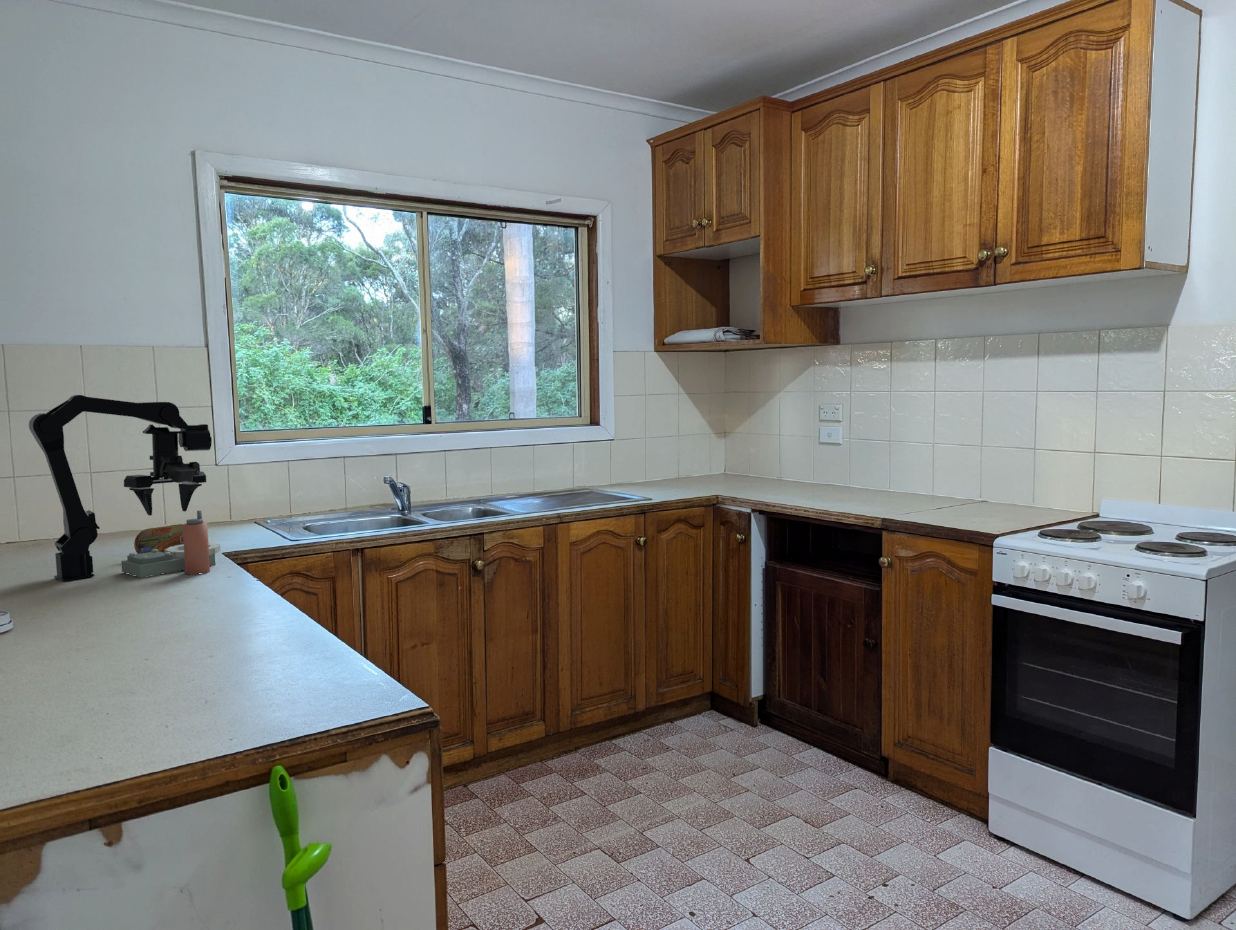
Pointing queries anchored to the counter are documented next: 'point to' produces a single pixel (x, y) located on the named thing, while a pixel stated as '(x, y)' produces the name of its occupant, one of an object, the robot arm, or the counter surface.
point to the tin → (159, 538)
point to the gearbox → (161, 561)
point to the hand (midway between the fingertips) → (167, 513)
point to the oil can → (196, 545)
